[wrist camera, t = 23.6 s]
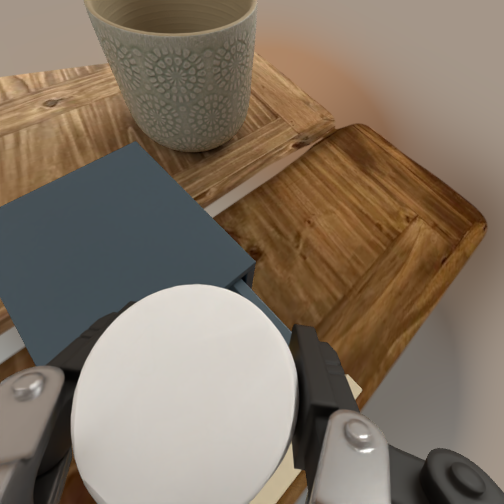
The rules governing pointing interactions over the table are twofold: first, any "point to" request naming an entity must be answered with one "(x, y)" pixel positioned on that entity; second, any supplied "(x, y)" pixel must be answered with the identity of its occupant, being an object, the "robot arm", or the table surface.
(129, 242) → the cabinet
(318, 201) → the table surface
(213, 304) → the supplement bottle
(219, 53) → the planter
